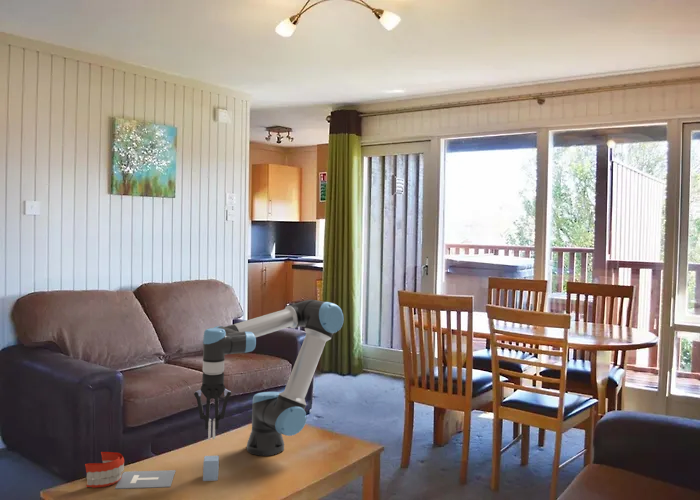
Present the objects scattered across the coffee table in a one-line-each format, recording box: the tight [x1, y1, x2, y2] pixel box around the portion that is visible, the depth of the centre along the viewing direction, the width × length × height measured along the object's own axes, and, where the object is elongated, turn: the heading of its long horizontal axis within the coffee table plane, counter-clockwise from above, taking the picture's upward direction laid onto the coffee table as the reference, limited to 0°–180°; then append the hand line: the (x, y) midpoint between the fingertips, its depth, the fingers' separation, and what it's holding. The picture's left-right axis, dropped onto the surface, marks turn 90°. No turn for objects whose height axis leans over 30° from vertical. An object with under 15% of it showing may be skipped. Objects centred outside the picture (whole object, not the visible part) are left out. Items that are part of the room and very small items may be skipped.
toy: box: [84, 451, 125, 489], centre depth 203 cm, size 12×10×8 cm
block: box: [202, 455, 220, 482], centre depth 209 cm, size 5×5×7 cm
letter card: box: [114, 469, 176, 490], centre depth 206 cm, size 18×14×1 cm
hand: (211, 438), depth 209 cm, fingers closed
